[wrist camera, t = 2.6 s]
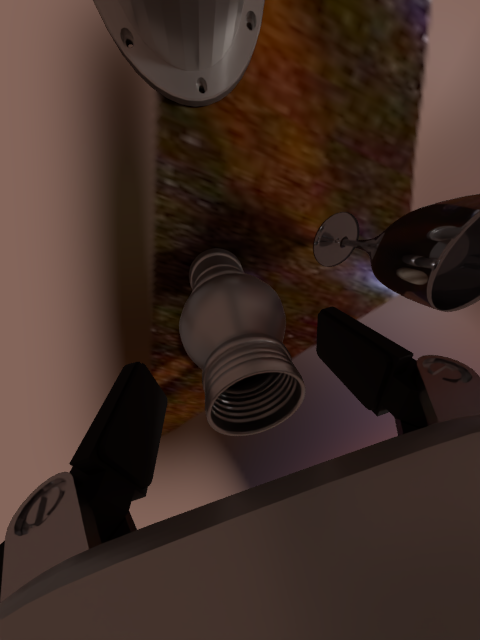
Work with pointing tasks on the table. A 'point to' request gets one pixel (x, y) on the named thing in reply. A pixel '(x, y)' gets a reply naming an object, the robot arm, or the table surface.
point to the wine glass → (416, 252)
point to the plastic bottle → (238, 346)
